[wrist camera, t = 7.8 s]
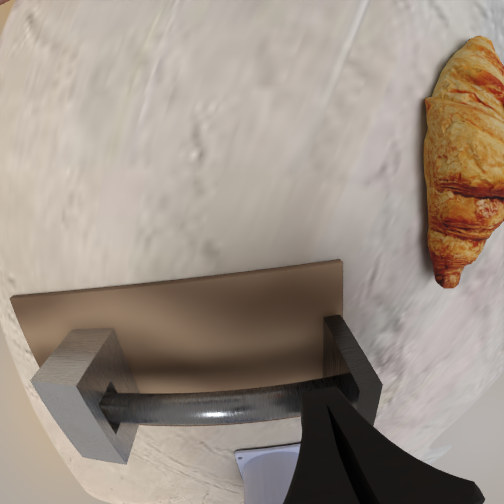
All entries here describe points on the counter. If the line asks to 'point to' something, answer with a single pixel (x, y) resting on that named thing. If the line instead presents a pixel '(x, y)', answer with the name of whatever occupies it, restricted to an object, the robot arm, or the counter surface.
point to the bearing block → (88, 392)
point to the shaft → (258, 392)
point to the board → (201, 326)
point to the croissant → (464, 158)
